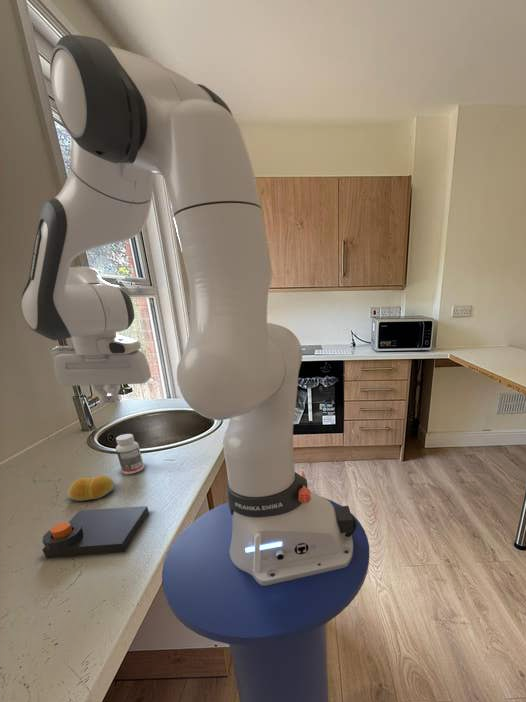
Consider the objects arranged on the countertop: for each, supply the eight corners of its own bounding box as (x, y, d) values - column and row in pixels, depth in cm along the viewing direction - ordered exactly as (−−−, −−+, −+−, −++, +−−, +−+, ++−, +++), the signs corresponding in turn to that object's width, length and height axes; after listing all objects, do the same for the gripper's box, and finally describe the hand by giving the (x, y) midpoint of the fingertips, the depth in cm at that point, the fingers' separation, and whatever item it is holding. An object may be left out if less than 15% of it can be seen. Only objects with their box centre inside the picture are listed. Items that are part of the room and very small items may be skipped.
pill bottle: (124, 467, 96) (115, 434, 92) (145, 463, 97) (137, 431, 94) (120, 476, 91) (110, 442, 87) (143, 472, 93) (134, 439, 89)
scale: (149, 513, 76) (145, 499, 74) (123, 553, 64) (118, 538, 63) (80, 517, 75) (75, 504, 73) (41, 559, 63) (34, 544, 62)
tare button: (75, 528, 66) (73, 521, 66) (66, 538, 64) (63, 531, 63) (59, 529, 66) (56, 522, 66) (49, 539, 63) (46, 532, 63)
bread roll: (111, 497, 82) (106, 483, 80) (67, 505, 79) (61, 490, 78) (118, 480, 89) (114, 466, 87) (77, 487, 86) (73, 473, 85)
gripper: (40, 348, 77) (59, 407, 82) (136, 345, 78) (148, 404, 84) (57, 343, 82) (74, 399, 88) (146, 341, 84) (158, 396, 89)
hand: (111, 401), depth 86 cm, fingers closed
